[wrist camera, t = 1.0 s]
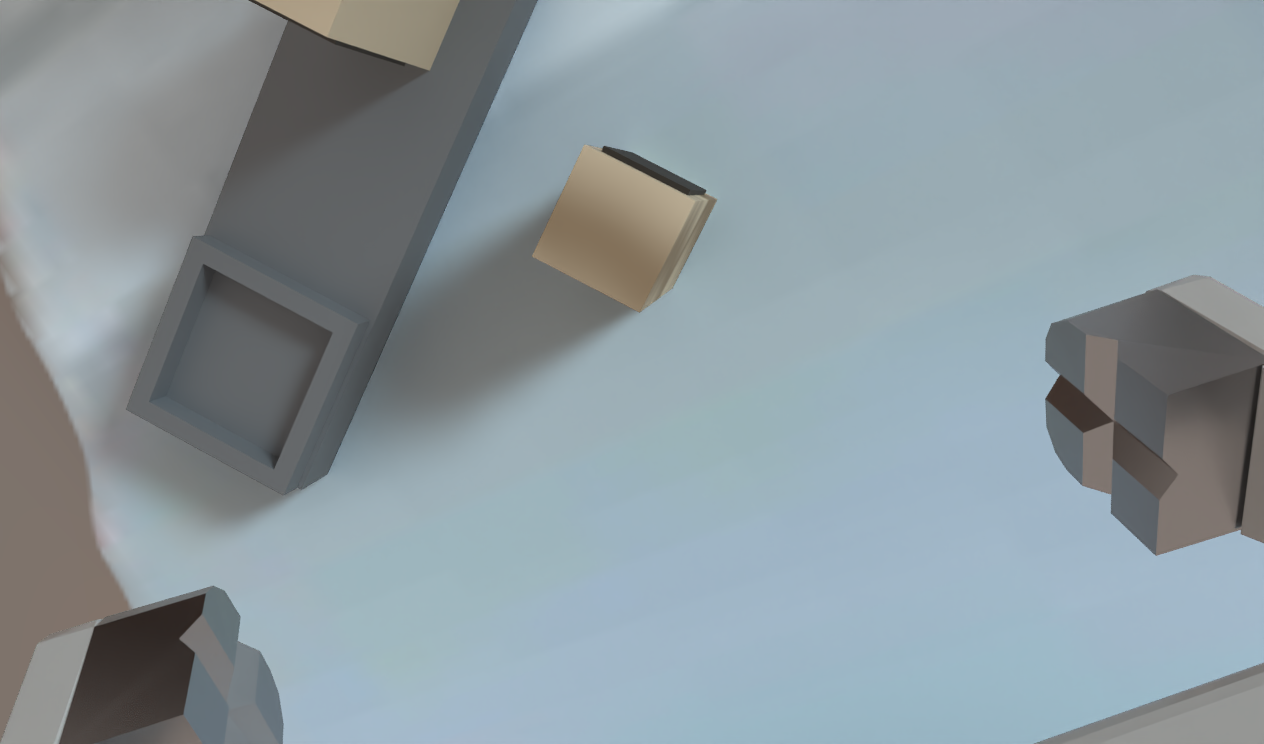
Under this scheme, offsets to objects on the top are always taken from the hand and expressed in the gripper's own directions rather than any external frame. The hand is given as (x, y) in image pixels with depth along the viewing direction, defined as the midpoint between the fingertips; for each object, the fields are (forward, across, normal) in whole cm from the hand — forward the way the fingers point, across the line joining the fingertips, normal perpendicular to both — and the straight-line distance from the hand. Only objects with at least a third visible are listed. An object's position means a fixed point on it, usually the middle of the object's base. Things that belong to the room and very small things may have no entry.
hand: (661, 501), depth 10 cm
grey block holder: (+36, +6, +8) cm, 38 cm away
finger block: (+31, -6, +11) cm, 33 cm away
